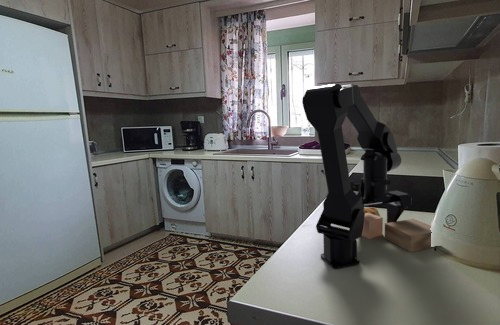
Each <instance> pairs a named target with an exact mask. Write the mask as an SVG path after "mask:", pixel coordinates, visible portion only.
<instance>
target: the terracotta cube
mask: <svg viewBox="0 0 500 325" xmlns="http://www.w3.org/2000/svg"><path fill="white" fill-rule="evenodd" d="M383 219H384V218H383V217H381V216H380V217H379V216H376V215H373V214H370V213H365V217H364V224H363V231H362V236H361V237H364V238H366V239H369V240H370V239H374V238H377V237H380V236H383V230H384V229H383V227H384V224H383Z"/></svg>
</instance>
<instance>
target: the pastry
mask: <svg viewBox="0 0 500 325" xmlns="http://www.w3.org/2000/svg"><path fill="white" fill-rule="evenodd" d="M363 211H364V213H370V214H373V215H376V216H379V217H381V214H380V213H379V210H378V209H377V208H376V207H371V206H368V208H367V207H364V210H363Z"/></svg>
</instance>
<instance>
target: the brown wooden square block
mask: <svg viewBox="0 0 500 325" xmlns="http://www.w3.org/2000/svg"><path fill="white" fill-rule="evenodd" d="M431 226H432V225H430V224H427V223H425V222H423V221H420V220H418V219H415V218H411V219H405V220H404V219H403V220H397V221H396V222H390V223H387V222H386V223H384V238H385V239H386V240H388V241H389V242H391V243H393V244H395V245H397V246H399V247H401V248H403V249H404V250H406V251H408V252H410V253H412V252H413V253H414V252H418V251H419V252H420V251H422V250H428V249H432V248H431V233H432V232H431V230H430V228H431Z"/></svg>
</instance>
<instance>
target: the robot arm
mask: <svg viewBox="0 0 500 325" xmlns="http://www.w3.org/2000/svg"><path fill="white" fill-rule="evenodd" d="M302 107H303V111H304V113H305V117H306V120H307V121H308V123H310V125H311V126H312V128H314V130H315V131H316V133H317V137H318V142H319V148H320V154H321V159H322V160H321V161H322V165H323V170H324V171H323V172H324V177H325V182H326V186H327V194H326V196H325V198H324V201H323V203H322V206H323V209H322V212H321V214H320V216H319V219H318V221H317V223H316V225H315V228H316V231H317V234H320V235H321V234H322V235H323V253H320V258H322V259H323V260H324V261H325V262H326V263H327V264H328V265H329V266H330V267H331V268H333V269H340V268H341V269H342V268H345V267H350V266H351V267H352V266H356V265H360V264H361V263H360V260H359V259H357V257H358V241H357V240H358V239H359V238H360V237H363V236H362V231H363V224H364V217H365V213H364V211H363V210H364V208H365V207H371V206H375V205H376V206H377V205H384V206H385V209H386V223H390V222H396V221H399V218H400V217H401V215H402V214H403V213H404V211H405V210H406V209H408V207H409V206H412V205H413V203H412V202H413V201H412V196H411V195H410V193H407V192H403V191H400V190H389V191H388V185H391V180H390V179H388V172H390V171H394V170H396V169H398V168H399V167H400V166H401V163H402V157H401V155H400V153H399V152H398V147H397V143H396V141H395V138H394V135H393V134H394V133H393V132H392V131H391V129H390V128H389V127H388V126H387V125H386V124H385V123H384V122H381V121H378V120H377V119H376V118H375V116H374V115H373V113H372V111H371V109H370V108H369V106H368V104H367V103H366V101H365V100H364V98H363V96H362V95H361V90H360V87H359V85H357V84H354V83H352V84H351V83H350V84H344V85H341V84H339V83H333V84H327V85H326V84H325V85H320V86H319V85H318V86H311V87H309V88H307V90H306V91H305V93H304V95H303V96H302ZM346 118H347V119H348V120H349V122H350V123H351V124H352V126H353V127H354V128H355V130H356V131H357V136H356V140H357V143H358V144H359V145H358V146H360V148H361V149H362V150H363V151H364V153H363V154H362V155H361V157H360V160H361V161H363V165H362V166H363V170H362V171H363V177H360V180H359V183H355V182H354V181H351V179H350V174H349V172H350V171H349V167H348V159H347V153H346V152H347V151H346V148H345V146H346V145H345V140H344V134H343V124H344V122H345V119H346ZM338 226H339V227H338ZM342 227H343V228H342Z"/></svg>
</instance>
